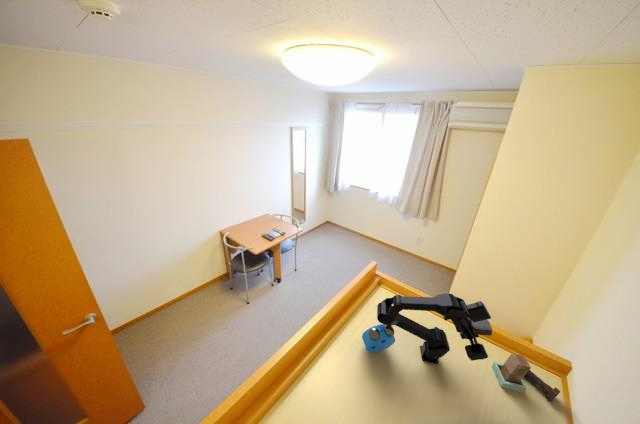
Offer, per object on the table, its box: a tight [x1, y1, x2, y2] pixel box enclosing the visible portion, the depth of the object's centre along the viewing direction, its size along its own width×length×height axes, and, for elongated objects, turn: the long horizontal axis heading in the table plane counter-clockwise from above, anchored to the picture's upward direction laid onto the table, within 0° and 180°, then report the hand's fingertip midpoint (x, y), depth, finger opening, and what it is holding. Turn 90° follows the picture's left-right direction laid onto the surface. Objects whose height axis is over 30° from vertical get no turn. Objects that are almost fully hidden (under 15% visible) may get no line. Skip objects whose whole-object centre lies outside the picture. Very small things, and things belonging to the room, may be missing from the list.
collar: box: [491, 361, 528, 393], centre depth 91 cm, size 8×8×3 cm
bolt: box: [524, 369, 561, 402], centre depth 91 cm, size 6×5×15 cm
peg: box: [500, 353, 532, 384], centre depth 89 cm, size 4×4×13 cm
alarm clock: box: [361, 323, 396, 353], centre depth 96 cm, size 13×6×15 cm, turn 103°
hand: (477, 347), depth 90 cm, fingers open, 9 cm apart
